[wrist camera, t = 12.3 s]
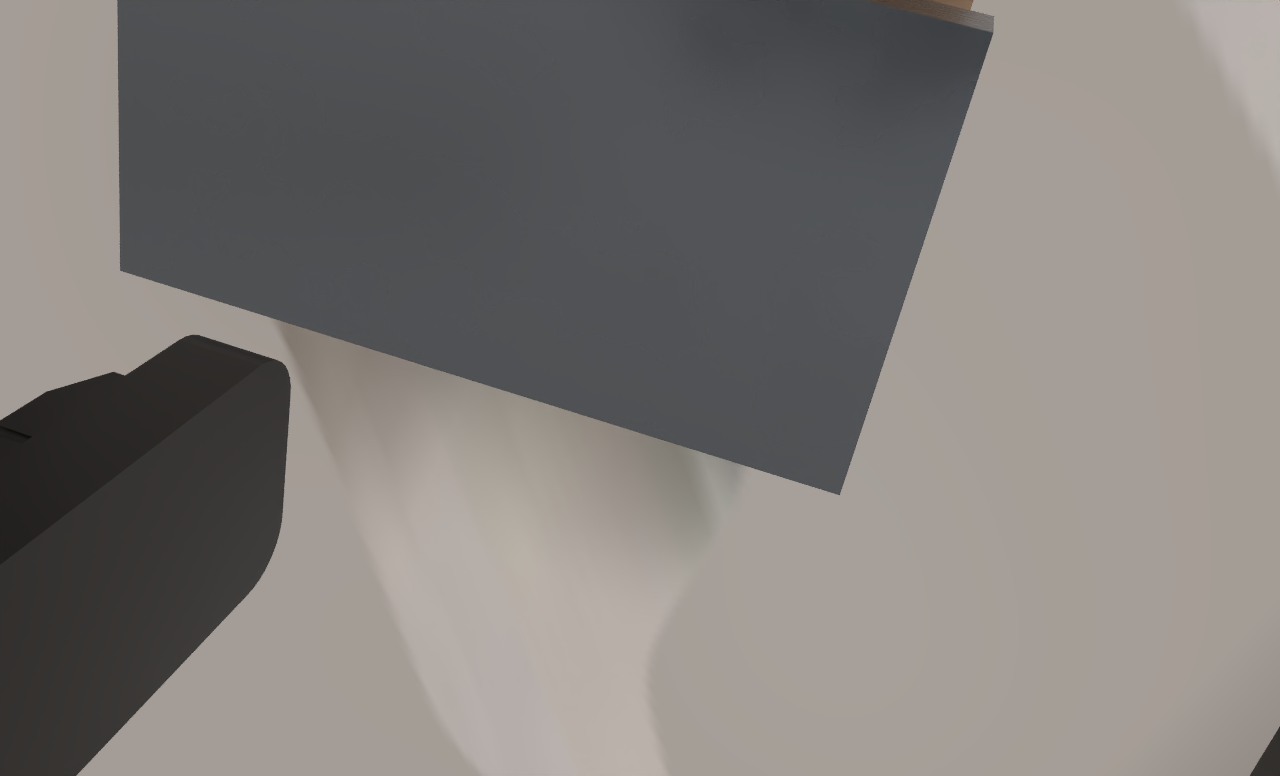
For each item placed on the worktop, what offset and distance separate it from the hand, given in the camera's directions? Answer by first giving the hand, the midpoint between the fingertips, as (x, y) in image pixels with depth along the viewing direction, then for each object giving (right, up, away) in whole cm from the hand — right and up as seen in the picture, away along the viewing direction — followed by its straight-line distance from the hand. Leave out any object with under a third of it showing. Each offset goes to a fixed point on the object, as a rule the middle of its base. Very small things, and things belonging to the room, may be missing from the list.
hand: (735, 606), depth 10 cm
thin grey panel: (+2, +14, +27) cm, 31 cm away
